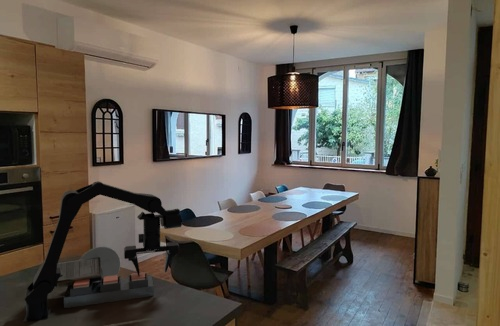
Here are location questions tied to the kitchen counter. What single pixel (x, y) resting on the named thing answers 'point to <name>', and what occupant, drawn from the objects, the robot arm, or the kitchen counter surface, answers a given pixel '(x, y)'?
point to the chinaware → (105, 260)
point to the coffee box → (79, 271)
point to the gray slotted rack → (108, 292)
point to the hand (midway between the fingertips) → (152, 273)
